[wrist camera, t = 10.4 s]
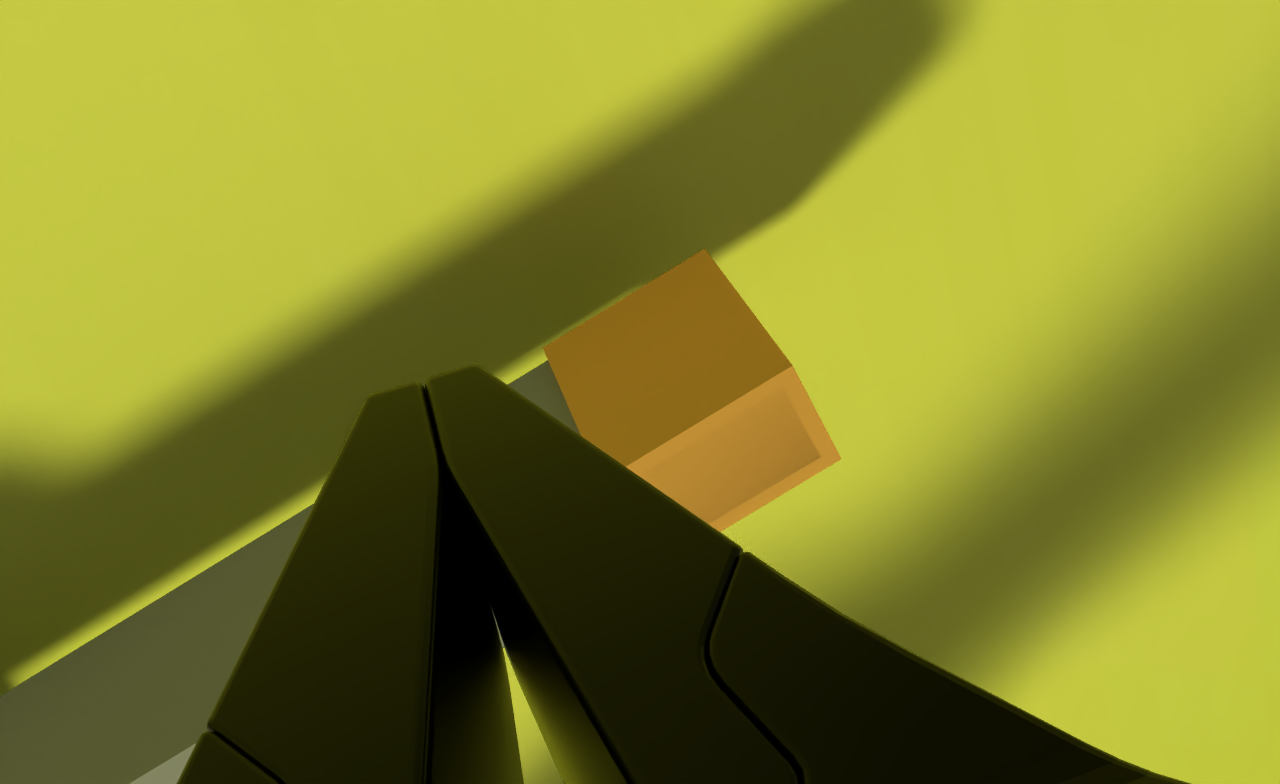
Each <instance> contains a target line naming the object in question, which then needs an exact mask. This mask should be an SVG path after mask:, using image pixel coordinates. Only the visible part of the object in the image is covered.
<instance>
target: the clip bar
mask: <svg viewBox="0 0 1280 784" xmlns="http://www.w3.org/2000/svg"><path fill="white" fill-rule="evenodd" d="M543 350H544V352H545V354H546V356H547V359H548V360H547V361H546V362H544V363H542V364H541V365H539V366H538V367H536V368H534V369H533V370H531V371H529V372H528V373H526V374H525V375H523V376H521V377H520V378H518V379H516V380H515V381H513V382H512V383H510V384H508V386H510V387H511V388H512V389H514V390H515V391H517V392H518V393H520V394H521V395H523V396H524V397H525V398H527V399H528V400H530V401H531V402H533V403H534V404H536V405H537V406H538V407H540V408H541V409H543V410H544V411H546V412H547V413H549V414H550V415H551V416H553V417H554V418H556V419H557V420H559V421H560V422H562V423H563V424H564V425H566V426H567V427H569V428H570V429H572V430H573V431H575V432H576V433H577V434H579V435H580V436H582V437H583V438H585V439H586V440H588V441H589V442H590V443H592V444H593V445H595V446H596V447H598V448H599V449H601V450H602V451H603V452H605V453H606V454H608V455H609V456H611V457H612V458H614V459H615V460H617V461H618V462H619V463H621V464H622V465H624V466H625V467H627V468H628V469H630V470H631V471H632V472H634V473H635V474H637V475H638V476H640V477H641V478H643V479H644V480H645V481H647V482H648V483H650V484H651V485H653V486H654V487H656V488H657V489H658V490H660V491H661V492H663V493H664V494H666V495H667V496H669V497H670V498H671V499H673V500H674V501H676V502H677V503H679V504H680V505H682V506H683V507H684V508H686V509H687V510H689V511H690V512H692V513H693V514H695V515H696V516H697V517H699V518H700V519H702V520H703V521H705V522H706V523H708V524H709V525H710V526H712V527H713V528H715V529H716V530H718V531H719V532H721V531H722V530H724V529H726V528H727V527H729V526H731V525H732V524H734V523H736V522H737V521H739V520H741V519H742V518H744V517H746V516H747V515H749V514H751V513H752V512H754V511H756V510H757V509H759V508H761V507H762V506H764V505H766V504H767V503H769V502H771V501H772V500H774V499H775V498H777V497H779V496H780V495H782V494H784V493H785V492H787V491H789V490H790V489H792V488H794V487H795V486H797V485H799V484H800V483H802V482H804V481H805V480H807V479H809V478H810V477H812V476H814V475H815V474H817V473H819V472H820V471H822V470H824V469H825V468H827V467H829V466H830V465H832V464H834V463H835V462H837V461H839V460H840V459H841V457H840V455H839V454H838V452H837V450H836V448H835V446H834V444H833V442H832V440H831V438H830V436H829V434H828V433H827V431H826V429H825V427H824V425H823V423H822V421H821V419H820V417H819V415H818V413H817V412H816V410H815V408H814V406H813V404H812V402H811V400H810V398H809V396H808V394H807V392H806V390H805V389H804V387H803V385H802V383H801V381H800V379H799V377H798V375H797V373H796V371H795V369H794V368H793V366H792V364H791V363H790V362H789V360H788V359H787V358H786V356H785V355H784V354H783V352H782V351H781V350H780V348H779V347H778V346H777V344H776V343H775V342H774V340H773V339H772V338H771V336H770V335H769V334H768V332H767V331H766V330H765V328H764V327H763V326H762V324H761V323H760V322H759V320H758V319H757V318H756V316H755V315H754V314H753V312H752V311H751V310H750V308H749V307H748V306H747V304H746V303H745V302H744V300H743V299H742V298H741V296H740V295H739V294H738V292H737V291H736V290H735V288H734V287H733V286H732V284H731V283H730V282H729V280H728V279H727V278H726V276H725V275H724V274H723V272H722V271H721V270H720V268H719V267H718V266H717V264H716V263H715V262H714V260H713V259H712V258H711V256H710V255H709V254H708V252H707V251H706V250H705V249H703V250H702V251H700V252H698V253H697V254H695V255H693V256H692V257H690V258H689V259H687V260H685V261H684V262H682V263H680V264H679V265H677V266H676V267H674V268H672V269H671V270H669V271H667V272H666V273H664V274H662V275H661V276H659V277H658V278H656V279H654V280H653V281H651V282H649V283H648V284H646V285H645V286H643V287H641V288H640V289H638V290H636V291H635V292H633V293H632V294H630V295H628V296H627V297H625V298H623V299H622V300H620V301H619V302H617V303H615V304H614V305H612V306H610V307H609V308H607V309H605V310H604V311H602V312H601V313H599V314H597V315H596V316H594V317H592V318H591V319H589V320H588V321H586V322H584V323H583V324H581V325H579V326H578V327H576V328H575V329H573V330H571V331H570V332H568V333H566V334H565V335H563V336H562V337H560V338H558V339H557V340H555V341H553V342H552V343H550V344H548V345H547V346H545V347H544V348H543ZM313 505H314V504H313ZM313 505H311V506H309V507H308V508H306V509H304V510H303V511H301V512H300V513H298V514H296V515H295V516H293V517H291V518H290V519H288V520H286V521H285V522H283V523H282V524H280V525H278V526H277V527H275V528H273V529H272V530H270V531H269V532H267V533H265V534H264V535H262V536H260V537H259V538H257V539H255V540H254V541H252V542H251V543H249V544H247V545H246V546H244V547H242V548H241V549H239V550H238V551H236V552H234V553H233V554H231V555H229V556H228V557H226V558H225V559H223V560H221V561H220V562H218V563H216V564H215V565H213V566H211V567H210V568H208V569H207V570H205V571H203V572H202V573H200V574H198V575H197V576H195V577H194V578H192V579H190V580H189V581H187V582H185V583H184V584H182V585H180V586H179V587H177V588H176V589H174V590H172V591H171V592H169V593H167V594H166V595H164V596H163V597H161V598H159V599H158V600H156V601H154V602H153V603H151V604H150V605H148V606H146V607H145V608H143V609H141V610H140V611H138V612H136V613H135V614H133V615H132V616H130V617H128V618H127V619H125V620H123V621H122V622H120V623H119V624H117V625H115V626H114V627H112V628H110V629H109V630H107V631H105V632H104V633H102V634H101V635H99V636H97V637H96V638H94V639H92V640H91V641H89V642H88V643H86V644H84V645H83V646H81V647H79V648H78V649H76V650H74V651H73V652H71V653H70V654H68V655H66V656H65V657H63V658H61V659H60V660H58V661H57V662H55V663H53V664H52V665H50V666H48V667H47V668H45V669H44V670H42V671H40V672H39V673H37V674H35V675H34V676H32V677H30V678H29V679H27V680H26V681H24V682H22V683H21V684H19V685H17V686H16V687H14V688H13V689H11V690H9V691H8V692H6V693H4V694H3V695H1V696H0V784H176V783H177V782H178V780H179V778H180V775H181V773H182V771H183V769H184V767H185V765H186V763H187V761H188V759H189V757H190V755H191V753H192V751H193V749H194V747H195V745H196V743H197V741H198V739H199V737H200V735H201V734H202V733H204V732H206V731H208V730H207V722H208V720H209V717H210V715H211V713H212V711H213V709H214V707H215V705H216V703H217V701H218V699H219V697H220V695H221V693H222V691H223V689H224V687H225V685H226V683H227V681H228V679H229V677H230V675H231V673H232V671H233V669H234V666H235V664H236V662H237V660H238V658H239V656H240V654H241V652H242V650H243V648H244V646H245V644H246V642H247V640H248V638H249V636H250V634H251V632H252V630H253V628H254V626H255V624H256V622H257V620H258V617H259V615H260V613H261V611H262V609H263V607H264V605H265V603H266V601H267V599H268V597H269V595H270V593H271V591H272V589H273V587H274V585H275V583H276V581H277V579H278V577H279V575H280V573H281V571H282V569H283V566H284V564H285V562H286V560H287V558H288V556H289V554H290V552H291V550H292V548H293V546H294V544H295V542H296V540H297V538H298V536H299V534H300V532H301V530H302V528H303V526H304V524H305V522H306V520H307V517H308V515H309V513H310V511H311V509H312V507H313ZM493 614H494V613H493ZM494 617H495V616H494ZM495 621H496V619H495ZM496 624H497V622H496ZM497 628H498V625H497ZM498 632H499V636H500V640H501V644H502V648H504V647H505V646H504V643H503V640H502V637H501V634H500V631H499V628H498Z"/></svg>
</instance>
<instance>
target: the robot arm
mask: <svg viewBox="0 0 1280 784" xmlns="http://www.w3.org/2000/svg"><path fill="white" fill-rule="evenodd" d="M425 390H426V391H425ZM493 613H494V614H493ZM494 616H495V617H494ZM495 619H496V621H495ZM496 622H497V624H496ZM497 625H498V628H499V631H500V634H501V637H502V640H503V643H504V646H505V650H506V653H507V655H508V657H509V660H510V662H511V665H512V667H513V670H514V672H515V675H516V677H517V680H518V682H519V684H520V686H521V689H522V691H523V693H524V695H525V697H526V700H527V702H528V704H529V706H530V709H531V711H532V713H533V715H534V718H535V720H536V722H537V724H538V727H539V729H540V731H541V733H542V736H543V738H544V740H545V742H546V744H547V747H548V749H549V751H550V753H551V756H552V758H553V760H554V762H555V765H556V767H557V769H558V771H559V774H560V776H561V778H562V780H563V782H564V784H1190V783H1187V782H1183V781H1180V780H1177V779H1173V778H1170V777H1167V776H1163V775H1160V774H1157V773H1154V772H1151V771H1149V770H1146V769H1144V768H1141V767H1139V766H1136V765H1133V764H1131V763H1128V762H1126V761H1123V760H1121V759H1119V758H1116V757H1114V756H1112V755H1110V754H1108V753H1106V752H1104V751H1102V750H1100V749H1098V748H1095V747H1093V746H1091V745H1089V744H1087V743H1085V742H1083V741H1081V740H1079V739H1077V738H1076V737H1074V736H1072V735H1070V734H1068V733H1066V732H1064V731H1062V730H1060V729H1058V728H1056V727H1054V726H1053V725H1051V724H1049V723H1047V722H1045V721H1043V720H1041V719H1039V718H1037V717H1035V716H1033V715H1031V714H1029V713H1028V712H1026V711H1024V710H1022V709H1020V708H1018V707H1016V706H1014V705H1012V704H1010V703H1008V702H1006V701H1005V700H1003V699H1001V698H999V697H997V696H995V695H993V694H991V693H989V692H987V691H985V690H983V689H981V688H980V687H978V686H976V685H974V684H972V683H970V682H968V681H966V680H964V679H962V678H960V677H958V676H956V675H955V674H953V673H951V672H949V671H947V670H945V669H943V668H941V667H939V666H937V665H935V664H933V663H932V662H930V661H928V660H926V659H924V658H922V657H920V656H918V655H916V654H914V653H912V652H911V651H909V650H907V649H905V648H903V647H901V646H900V645H898V644H896V643H894V642H892V641H891V640H889V639H887V638H885V637H883V636H882V635H880V634H878V633H876V632H875V631H873V630H871V629H869V628H867V627H866V626H864V625H862V624H860V623H858V622H857V621H855V620H853V619H851V618H849V617H848V616H846V615H844V614H842V613H841V612H839V611H837V610H836V609H834V608H833V607H831V606H830V605H828V604H827V603H825V602H823V601H822V600H820V599H819V598H817V597H816V596H814V595H813V594H811V593H809V592H808V591H806V590H805V589H803V588H802V587H800V586H799V585H797V584H795V583H794V582H792V581H791V580H789V579H788V578H786V577H785V576H783V575H782V574H780V573H779V572H777V571H776V570H774V569H773V568H772V567H770V566H769V565H767V564H766V563H765V562H763V561H762V560H760V559H759V558H757V557H756V556H755V555H753V554H752V553H750V552H744V553H743V549H742V548H741V547H740V546H739V545H738V544H736V543H735V542H734V541H732V540H731V539H729V538H728V537H726V536H725V535H723V534H722V533H721V532H719V531H718V530H716V529H715V528H713V527H712V526H710V525H709V524H708V523H706V522H705V521H703V520H702V519H700V518H699V517H697V516H696V515H695V514H693V513H692V512H690V511H689V510H687V509H686V508H684V507H683V506H682V505H680V504H679V503H677V502H676V501H674V500H673V499H671V498H670V497H669V496H667V495H666V494H664V493H663V492H661V491H660V490H658V489H657V488H656V487H654V486H653V485H651V484H650V483H648V482H647V481H645V480H644V479H643V478H641V477H640V476H638V475H637V474H635V473H634V472H632V471H631V470H630V469H628V468H627V467H625V466H624V465H622V464H621V463H619V462H618V461H617V460H615V459H614V458H612V457H611V456H609V455H608V454H606V453H605V452H603V451H602V450H601V449H599V448H598V447H596V446H595V445H593V444H592V443H590V442H589V441H588V440H586V439H585V438H583V437H582V436H580V435H579V434H577V433H576V432H575V431H573V430H572V429H570V428H569V427H567V426H566V425H564V424H563V423H562V422H560V421H559V420H557V419H556V418H554V417H553V416H551V415H550V414H549V413H547V412H546V411H544V410H543V409H541V408H540V407H538V406H537V405H536V404H534V403H533V402H531V401H530V400H528V399H527V398H525V397H524V396H523V395H521V394H520V393H518V392H517V391H515V390H514V389H512V388H511V387H510V386H508V385H507V384H505V383H504V382H502V381H501V380H499V379H498V378H497V377H495V376H494V375H492V374H491V373H489V372H488V371H486V370H485V369H484V368H482V367H481V366H479V365H474V364H472V365H467V366H464V367H460V368H457V369H454V370H450V371H447V372H444V373H440V374H437V375H434V376H431V377H430V378H429V379H428V380H427V381H426V384H425V388H424V386H423V385H422V384H420V383H418V382H410V383H407V384H403V385H400V386H396V387H393V388H390V389H386V390H383V391H379V392H376V393H373V394H371V395H369V396H368V397H367V398H366V400H365V401H364V403H363V405H362V407H361V409H360V411H359V413H358V415H357V417H356V420H355V422H354V424H353V426H352V428H351V430H350V432H349V434H348V436H347V438H346V440H345V442H344V444H343V446H342V448H341V450H340V452H339V454H338V456H337V458H336V460H335V462H334V464H333V466H332V469H331V471H330V473H329V475H328V477H327V479H326V481H325V483H324V485H323V487H322V489H321V491H320V493H319V495H318V497H317V499H316V501H315V503H314V505H313V507H312V509H311V511H310V513H309V515H308V517H307V520H306V522H305V524H304V526H303V528H302V530H301V532H300V534H299V536H298V538H297V540H296V542H295V544H294V546H293V548H292V550H291V552H290V554H289V556H288V558H287V560H286V562H285V564H284V566H283V569H282V571H281V573H280V575H279V577H278V579H277V581H276V583H275V585H274V587H273V589H272V591H271V593H270V595H269V597H268V599H267V601H266V603H265V605H264V607H263V609H262V611H261V613H260V615H259V617H258V620H257V622H256V624H255V626H254V628H253V630H252V632H251V634H250V636H249V638H248V640H247V642H246V644H245V646H244V648H243V650H242V652H241V654H240V656H239V658H238V660H237V662H236V664H235V666H234V669H233V671H232V673H231V675H230V677H229V679H228V681H227V683H226V685H225V687H224V689H223V691H222V693H221V695H220V697H219V699H218V701H217V703H216V705H215V707H214V709H213V711H212V713H211V715H210V717H209V720H208V722H207V730H208V731H206V732H204V733H202V734H201V735H200V737H199V739H198V741H197V743H196V745H195V747H194V749H193V751H192V753H191V755H190V757H189V759H188V761H187V763H186V765H185V767H184V769H183V771H182V773H181V775H180V778H179V780H178V782H177V783H176V784H524V782H523V775H522V768H521V761H520V754H519V747H518V740H517V733H516V726H515V720H514V713H513V706H512V699H511V692H510V685H509V679H508V673H507V668H506V662H505V657H504V652H503V648H502V644H501V640H500V636H499V632H498V628H497Z"/></svg>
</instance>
